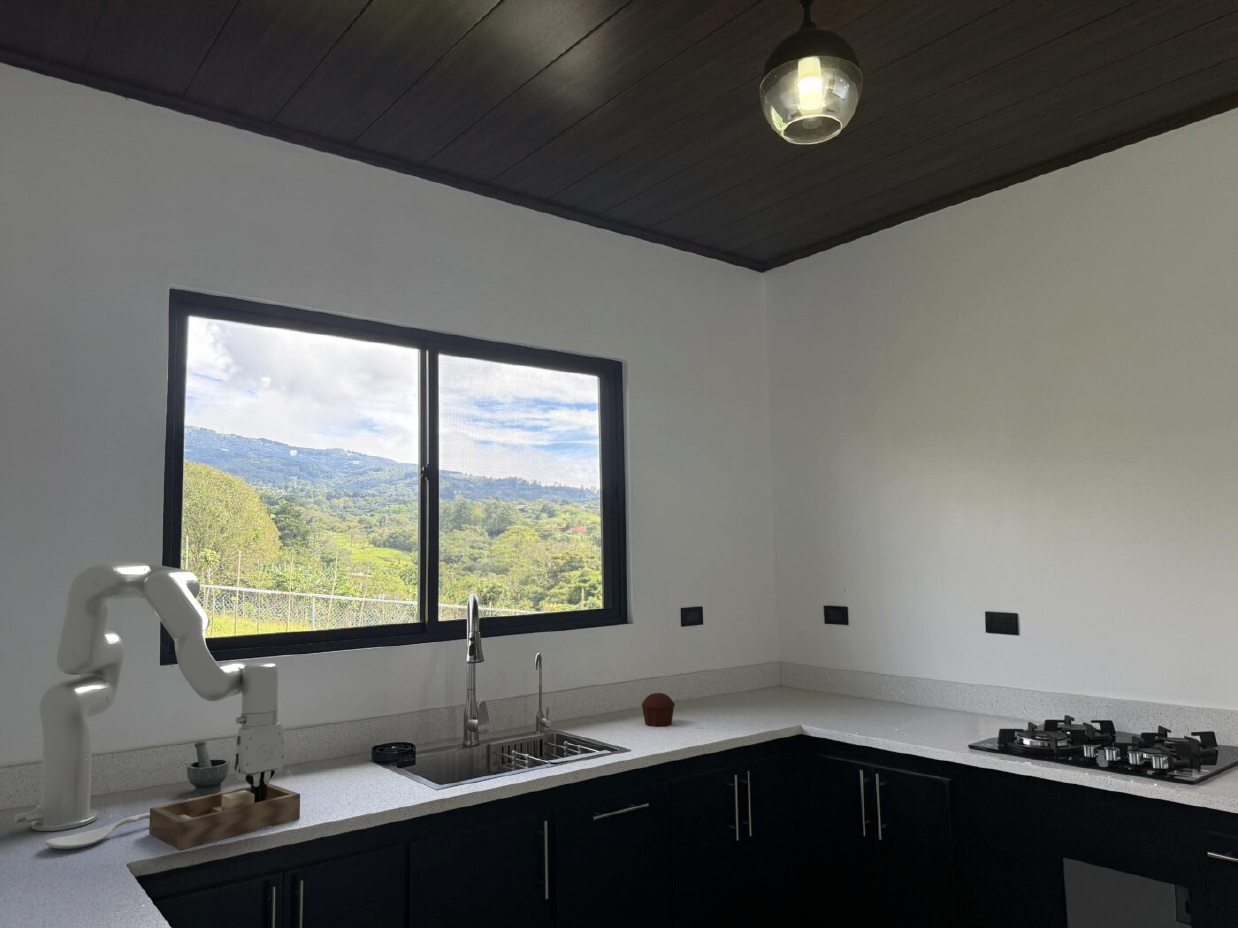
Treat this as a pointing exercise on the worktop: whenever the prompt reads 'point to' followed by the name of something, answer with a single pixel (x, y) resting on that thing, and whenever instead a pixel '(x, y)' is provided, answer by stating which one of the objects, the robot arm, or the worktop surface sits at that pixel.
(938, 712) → the worktop surface
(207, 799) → the box
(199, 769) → the mortar and pestle
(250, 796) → the maple block
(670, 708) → the muffin
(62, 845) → the spoon
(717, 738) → the worktop surface
